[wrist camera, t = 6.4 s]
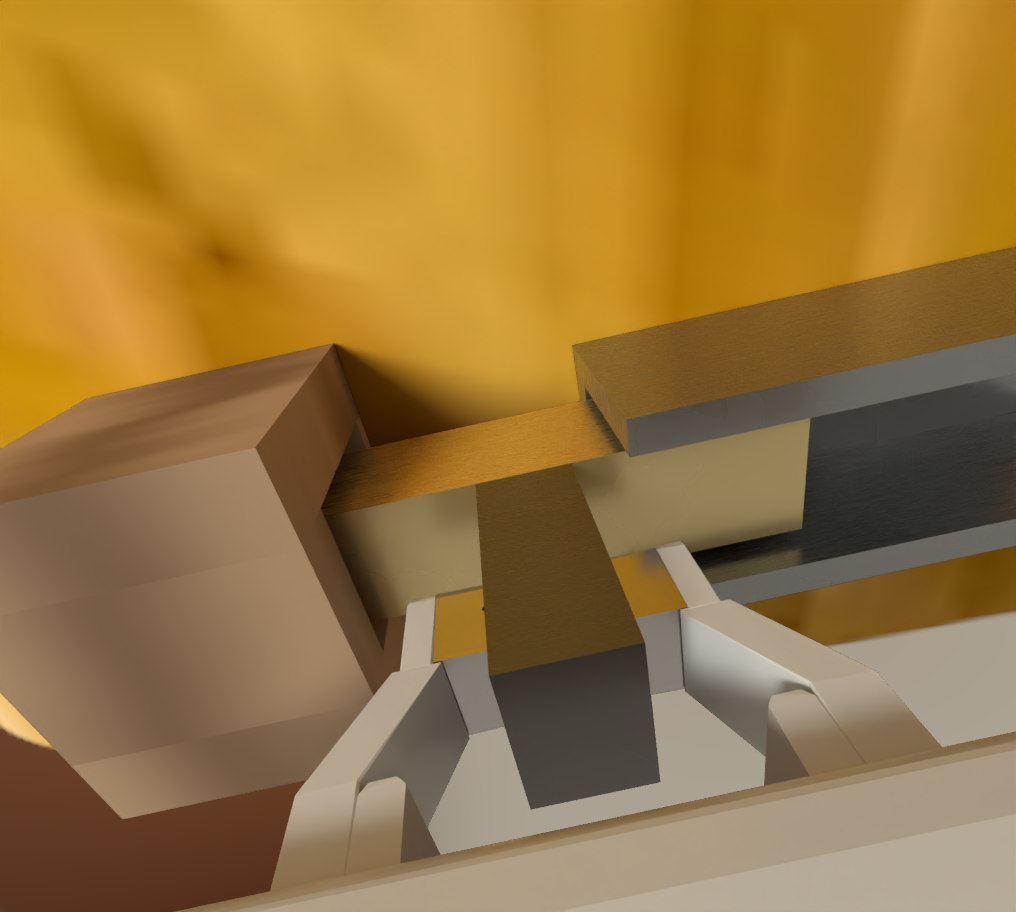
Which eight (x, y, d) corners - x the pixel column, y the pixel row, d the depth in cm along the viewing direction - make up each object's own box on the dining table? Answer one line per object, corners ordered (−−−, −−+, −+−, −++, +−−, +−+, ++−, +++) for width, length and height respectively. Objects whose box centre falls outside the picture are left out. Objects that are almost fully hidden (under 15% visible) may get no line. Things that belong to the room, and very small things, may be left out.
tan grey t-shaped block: (740, 365, 14) (1041, 557, 7) (739, 466, 15) (987, 712, 8) (205, 483, 14) (-50, 791, 7) (253, 572, 15) (83, 903, 8)
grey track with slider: (1057, 237, 14) (1338, 263, 10) (1010, 415, 16) (1215, 502, 12) (572, 345, 14) (626, 419, 10) (595, 506, 16) (647, 625, 12)
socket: (333, 343, 14) (254, 447, 8) (419, 581, 17) (403, 758, 12) (86, 398, 14) (-150, 536, 8) (224, 623, 17) (122, 818, 12)
